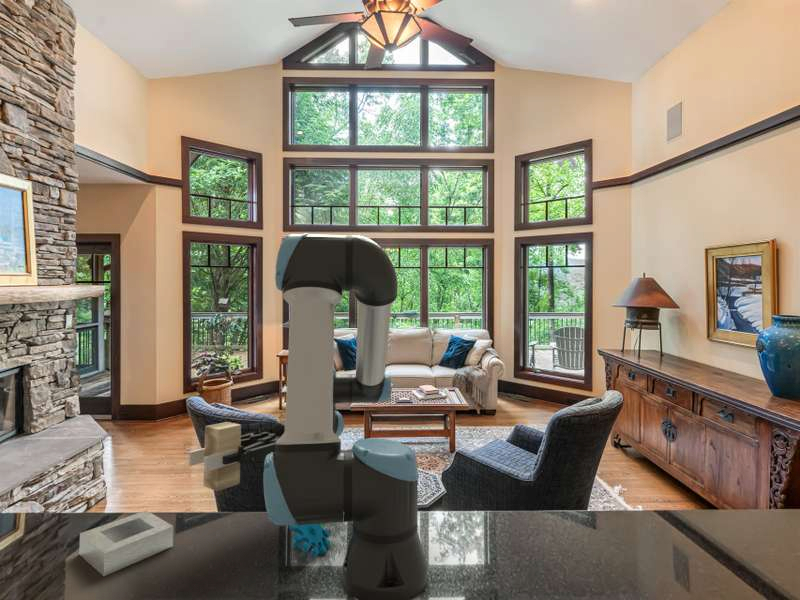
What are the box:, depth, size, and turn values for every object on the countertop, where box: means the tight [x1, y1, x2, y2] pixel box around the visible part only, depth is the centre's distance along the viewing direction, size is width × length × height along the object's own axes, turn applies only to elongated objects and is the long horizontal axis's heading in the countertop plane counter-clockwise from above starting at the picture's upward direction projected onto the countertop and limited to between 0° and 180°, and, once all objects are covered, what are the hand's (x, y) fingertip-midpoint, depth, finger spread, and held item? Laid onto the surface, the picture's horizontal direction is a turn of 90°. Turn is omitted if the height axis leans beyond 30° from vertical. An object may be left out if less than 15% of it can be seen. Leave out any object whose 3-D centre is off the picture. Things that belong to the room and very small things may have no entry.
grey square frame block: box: [78, 510, 174, 577], centre depth 82 cm, size 12×12×4 cm
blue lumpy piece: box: [289, 523, 331, 557], centre depth 83 cm, size 11×6×10 cm
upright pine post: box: [203, 421, 242, 492], centre depth 85 cm, size 5×5×12 cm
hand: (197, 461), depth 81 cm, fingers closed on upright pine post, 5 cm apart
